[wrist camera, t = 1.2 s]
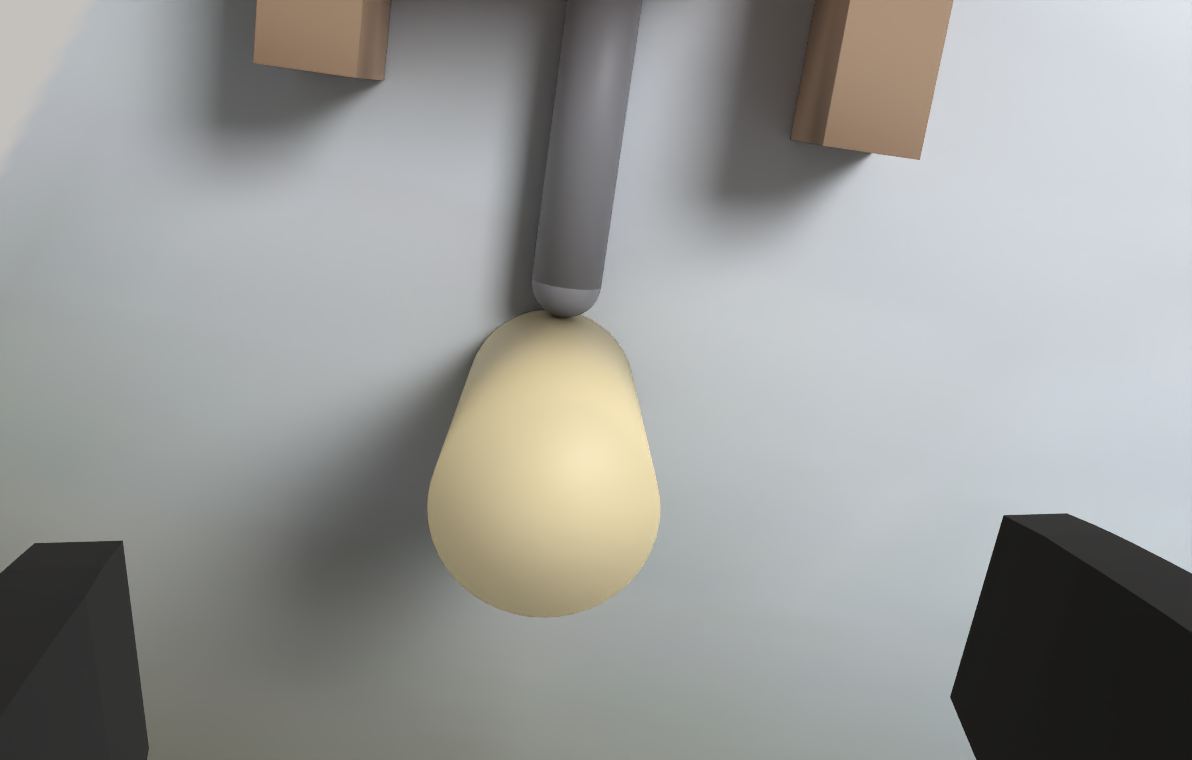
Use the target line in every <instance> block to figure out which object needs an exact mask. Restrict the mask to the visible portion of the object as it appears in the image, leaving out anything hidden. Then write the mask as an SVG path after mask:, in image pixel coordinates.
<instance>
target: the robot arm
mask: <svg viewBox="0 0 1192 760" xmlns="http://www.w3.org/2000/svg"><path fill="white" fill-rule="evenodd" d="M950 698H951V700H952V703H953V705H954V707H955V710H956V712H957V715H958V717H959V719H960V722H961V724H962V727H963V729H964V731H965V734H966V736H967V739H968V741H969V743H970V746H971V748H972V751H973V753H974V755H975V757H976V760H1192V574H1191V573H1190V572H1188V571H1186V570H1184V569H1182V568H1180V567H1178V566H1176V565H1174V564H1172V563H1171V562H1169V561H1167V560H1165V559H1163V558H1161V557H1159V556H1157V555H1155V554H1153V553H1151V552H1149V551H1147V550H1145V549H1143V548H1141V547H1139V546H1137V545H1135V544H1133V543H1131V542H1129V541H1127V540H1125V539H1123V538H1121V537H1119V536H1117V535H1115V534H1113V533H1111V532H1109V531H1106V530H1104V529H1102V528H1100V527H1098V526H1095V525H1093V524H1091V523H1088V522H1086V521H1084V520H1081V519H1079V518H1076V517H1074V516H1072V515H1069V514H1034V515H1004V516H1003V519H1002V523H1001V526H1000V529H999V533H998V536H997V540H996V543H995V546H994V550H993V553H992V557H991V560H990V563H989V567H988V570H987V574H986V577H985V580H984V584H983V587H982V591H981V594H980V597H979V601H978V604H977V608H976V611H975V614H974V618H973V621H972V625H971V628H970V631H969V635H968V638H967V642H966V645H965V649H964V652H963V655H962V659H961V662H960V666H959V669H958V672H957V676H956V679H955V683H954V686H953V689H952V693H951V696H950ZM148 750H149V746H148V738H147V730H146V723H145V715H144V707H143V699H142V691H141V683H140V675H139V667H138V659H137V651H136V643H135V635H134V627H133V619H132V611H131V603H130V595H129V587H128V579H127V571H126V563H125V555H124V547H123V541H99V542H64V543H34V544H33V545H32V546H31V547H30V548H29V549H27V550H26V551H25V552H24V553H23V554H22V555H20V556H19V557H18V558H17V559H16V560H15V561H14V562H13V563H11V564H10V565H9V566H8V567H7V568H6V569H5V570H4V571H2V572H1V573H0V760H147V756H148Z"/></svg>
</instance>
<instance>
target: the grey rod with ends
mask: <svg viewBox="0 0 1192 760" xmlns="http://www.w3.org/2000/svg"><path fill="white" fill-rule="evenodd" d="M641 6H642V0H567V6H566V14H565V22H564V30H563V38H562V45H561V53H560V61H559V69H558V77H557V84H556V92H555V100H554V108H553V116H552V124H551V131H550V139H549V147H548V155H547V163H546V170H545V178H544V186H543V194H542V202H541V210H540V217H539V225H538V233H537V241H536V249H535V256H534V264H533V272H532V290H533V293H534V296H535V299H536V300H537V302H538V303H539V305H540V306H541V307H542V308H543V309H544V310H537V311H532V312H528V313H525V314H522V315H519V316H517V317H514V318H512V319H510V320H508V321H507V322H505V323H504V324H502V325H501V326H499V327H498V328H497V329H496V330H495V331H494V332H492V333H491V335H490V336H489V337H488V338H487V339H486V340H485V341H484V343H483V344H482V346H481V347H480V349H479V350H478V353H477V355H476V357H475V359H474V361H473V364H472V367H471V369H470V372H469V375H468V378H467V381H466V383H465V386H464V389H463V392H462V395H461V397H460V400H459V403H458V406H457V408H456V411H455V414H454V417H453V420H452V422H451V425H450V428H449V431H448V434H447V436H446V439H445V442H444V445H443V447H442V450H441V453H440V456H439V459H438V461H437V464H436V467H435V470H434V473H433V476H432V479H431V482H430V487H429V493H428V503H427V514H428V524H429V529H430V533H431V537H432V540H433V543H434V545H435V548H436V551H437V553H438V555H439V556H440V558H441V560H442V562H443V564H444V565H445V567H446V568H447V569H448V571H449V572H450V573H451V575H452V576H453V577H454V578H455V579H456V580H457V581H458V582H459V583H460V584H461V585H462V586H463V587H464V588H465V589H466V590H468V591H469V592H470V593H471V594H473V595H474V596H475V597H477V598H479V599H480V600H482V601H484V602H485V603H487V604H489V605H491V606H494V607H496V608H498V609H500V610H503V611H507V612H510V613H513V614H517V615H523V616H529V617H544V618H545V617H560V616H565V615H571V614H575V613H578V612H581V611H585V610H588V609H590V608H592V607H594V606H597V605H599V604H601V603H603V602H604V601H606V600H608V599H609V598H611V597H613V596H614V595H615V594H617V593H618V592H619V591H620V590H622V589H623V588H624V587H625V586H626V585H627V584H628V583H629V582H630V581H631V580H632V579H633V578H634V577H635V576H636V574H637V573H638V572H639V570H640V569H641V568H642V566H643V565H644V563H645V561H646V560H647V558H648V556H649V554H650V552H651V550H652V547H653V545H654V542H655V540H656V536H657V532H658V527H659V520H660V495H659V490H658V485H657V480H656V476H655V471H654V467H653V463H652V458H651V454H650V450H649V445H648V441H647V437H646V432H645V428H644V424H643V419H642V415H641V411H640V407H639V402H638V398H637V394H636V389H635V385H634V381H633V376H632V372H631V368H630V365H629V362H628V360H627V357H626V355H625V353H624V351H623V350H622V348H621V347H620V345H619V344H618V342H617V341H616V340H615V339H614V337H613V336H612V335H611V334H610V333H609V332H608V331H607V330H605V329H604V328H603V327H602V326H600V325H599V324H597V323H596V322H594V321H593V320H591V319H589V318H587V317H585V316H583V315H580V314H582V313H584V312H586V311H587V310H588V309H590V308H591V307H592V306H593V304H594V303H595V302H596V300H597V298H598V296H599V293H600V289H601V284H602V277H603V270H604V263H605V256H606V249H607V242H608V235H609V228H610V221H611V214H612V207H613V200H614V193H615V186H616V179H617V173H618V166H619V159H620V152H621V145H622V138H623V131H624V124H625V117H626V110H627V103H628V96H629V89H630V82H631V75H632V68H633V61H634V54H635V47H636V41H637V34H638V27H639V20H640V13H641Z"/></svg>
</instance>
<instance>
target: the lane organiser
mask: <svg viewBox="0 0 1192 760" xmlns="http://www.w3.org/2000/svg"><path fill="white" fill-rule="evenodd" d="M952 4H953V0H815V5H814V10H813V16H812V21H811V27H810V33H809V38H808V44H807V49H806V55H805V60H804V66H803V71H802V77H801V82H800V88H799V93H798V99H797V104H796V110H795V115H794V121H793V126H792V132H791V137H790V140H795V141H800V142H806V143H811V144H816V145H821V146H828V147H834V148H841V149H848V150H855V151H862V152H869V153H876V154H883V155H889V156H896V157H903V158H910V159H917V160H920V156H921V151H922V147H923V142H924V137H925V132H926V128H927V123H928V118H929V113H930V109H931V104H932V99H933V94H934V90H935V85H936V80H937V75H938V71H939V66H940V61H941V56H942V52H943V47H944V42H945V37H946V33H947V28H948V23H949V18H950V14H951V9H952ZM390 8H391V0H257V8H256V24H255V40H254V56H253V63H256V64H263V65H270V66H277V67H284V68H291V69H298V70H305V71H311V72H318V73H325V74H332V75H339V76H346V77H353V78H362V79H373V80H384V74H385V63H386V52H387V41H388V30H389V19H390Z"/></svg>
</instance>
